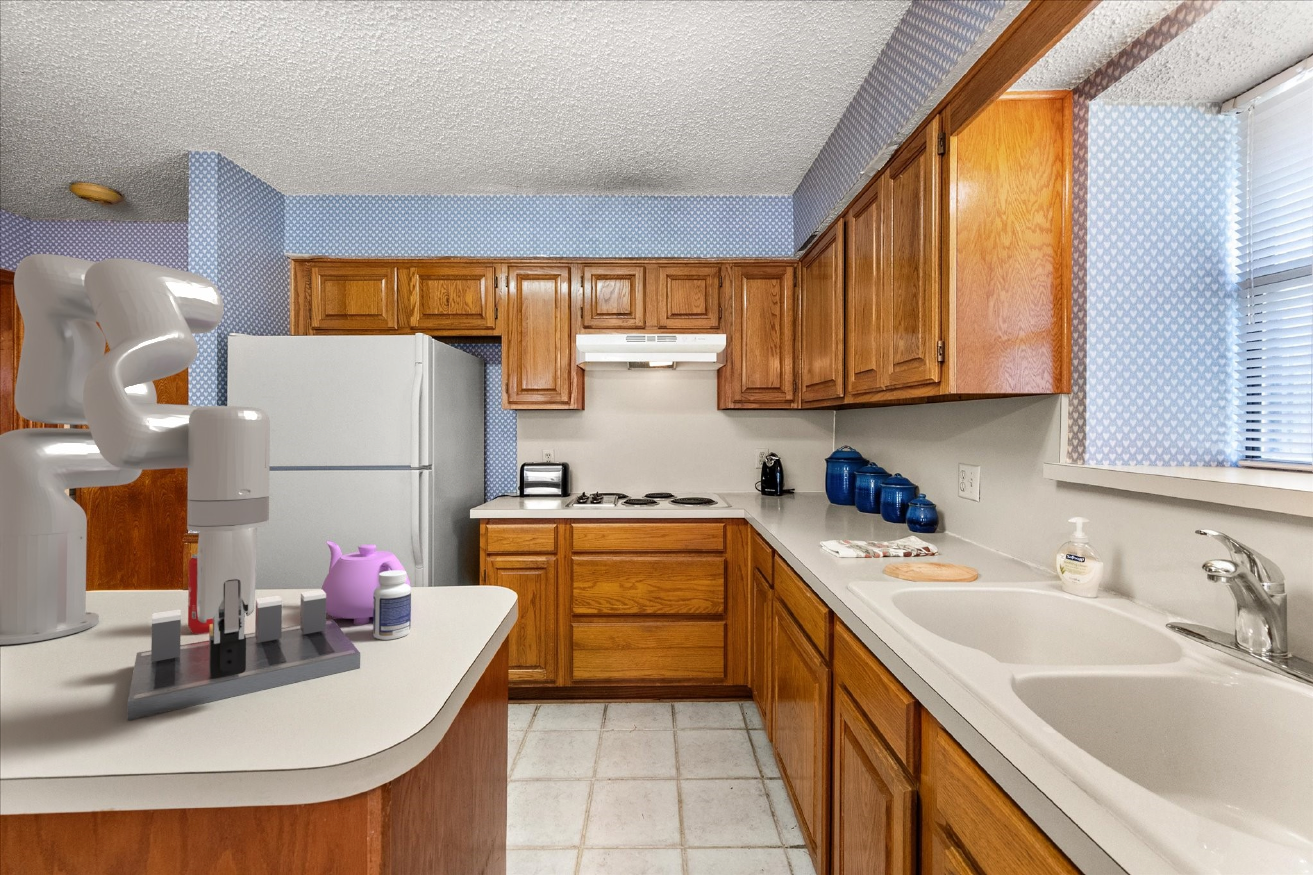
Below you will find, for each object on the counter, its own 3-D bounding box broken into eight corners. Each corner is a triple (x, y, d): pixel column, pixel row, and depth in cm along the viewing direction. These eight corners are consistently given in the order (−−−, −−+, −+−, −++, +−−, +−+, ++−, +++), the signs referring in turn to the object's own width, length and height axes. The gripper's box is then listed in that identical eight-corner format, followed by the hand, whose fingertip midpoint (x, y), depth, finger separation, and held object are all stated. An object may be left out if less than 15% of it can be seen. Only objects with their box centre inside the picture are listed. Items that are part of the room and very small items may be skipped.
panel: (136, 667, 76) (136, 652, 76) (332, 631, 90) (332, 618, 90) (127, 720, 62) (127, 701, 62) (360, 667, 77) (360, 652, 77)
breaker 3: (300, 628, 85) (300, 592, 85) (321, 624, 86) (322, 589, 86) (303, 634, 82) (304, 596, 82) (325, 630, 84) (326, 593, 84)
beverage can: (206, 636, 88) (207, 558, 88) (179, 633, 89) (180, 556, 89) (237, 625, 93) (238, 551, 93) (211, 622, 94) (212, 550, 94)
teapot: (287, 615, 98) (288, 545, 98) (363, 596, 111) (364, 533, 111) (361, 636, 89) (362, 558, 89) (435, 612, 101) (436, 543, 101)
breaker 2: (255, 636, 81) (255, 598, 81) (278, 632, 83) (279, 595, 83) (257, 642, 79) (257, 603, 79) (281, 638, 81) (282, 600, 81)
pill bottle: (418, 632, 91) (419, 571, 91) (389, 642, 86) (390, 578, 86) (394, 626, 93) (394, 567, 93) (365, 637, 88) (366, 574, 88)
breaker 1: (152, 654, 74) (152, 613, 74) (180, 649, 76) (180, 609, 76) (151, 661, 72) (151, 619, 72) (180, 656, 74) (180, 614, 74)
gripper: (186, 509, 69) (184, 662, 69) (188, 524, 57) (186, 707, 57) (261, 505, 74) (260, 647, 74) (277, 518, 62) (275, 686, 62)
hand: (228, 673), depth 65 cm, fingers closed
